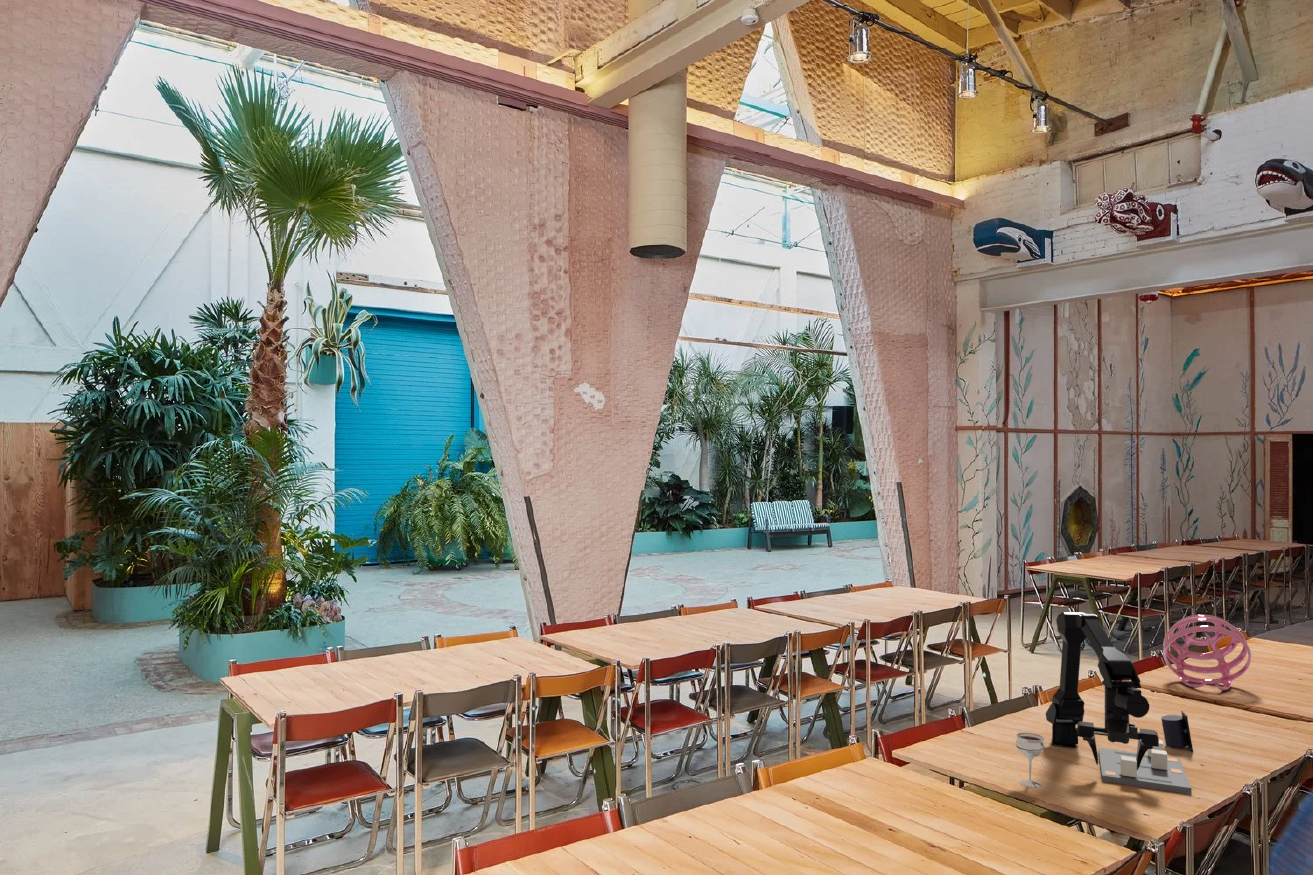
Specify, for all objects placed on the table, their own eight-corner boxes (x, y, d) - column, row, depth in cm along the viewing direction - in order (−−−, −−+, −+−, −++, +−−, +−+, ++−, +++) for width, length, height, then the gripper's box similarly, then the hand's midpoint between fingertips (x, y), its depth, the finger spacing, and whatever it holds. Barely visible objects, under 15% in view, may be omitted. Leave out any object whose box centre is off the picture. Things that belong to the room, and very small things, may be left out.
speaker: (1196, 746, 259) (1191, 710, 260) (1193, 752, 255) (1188, 715, 255) (1167, 743, 264) (1162, 708, 264) (1163, 749, 259) (1158, 713, 260)
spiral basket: (1247, 647, 308) (1234, 594, 329) (1158, 656, 323) (1150, 605, 344) (1265, 703, 318) (1251, 649, 339) (1178, 710, 333) (1169, 657, 354)
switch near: (1121, 775, 229) (1121, 759, 229) (1120, 770, 232) (1120, 755, 232) (1136, 777, 227) (1136, 761, 228) (1135, 773, 231) (1135, 757, 231)
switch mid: (1152, 767, 235) (1152, 752, 235) (1151, 763, 238) (1151, 748, 238) (1167, 769, 233) (1167, 754, 233) (1166, 765, 236) (1165, 750, 237)
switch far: (1148, 756, 244) (1148, 741, 244) (1147, 752, 247) (1147, 738, 247) (1163, 758, 242) (1163, 743, 243) (1162, 754, 246) (1162, 740, 246)
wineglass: (1031, 790, 223) (1032, 742, 223) (1009, 781, 229) (1010, 734, 229) (1050, 785, 226) (1050, 738, 226) (1028, 777, 232) (1028, 731, 232)
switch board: (1102, 781, 230) (1102, 774, 230) (1098, 752, 253) (1098, 747, 253) (1191, 793, 222) (1191, 787, 222) (1179, 763, 244) (1179, 757, 244)
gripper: (1077, 709, 228) (1077, 770, 228) (1160, 719, 220) (1161, 782, 220) (1077, 699, 238) (1077, 757, 238) (1156, 708, 230) (1156, 768, 230)
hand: (1116, 766), depth 231 cm, fingers open, 9 cm apart
